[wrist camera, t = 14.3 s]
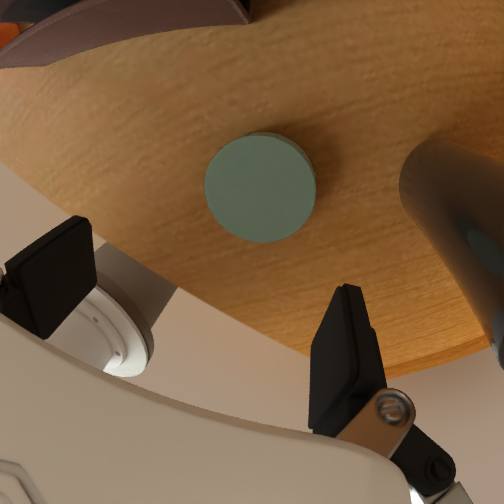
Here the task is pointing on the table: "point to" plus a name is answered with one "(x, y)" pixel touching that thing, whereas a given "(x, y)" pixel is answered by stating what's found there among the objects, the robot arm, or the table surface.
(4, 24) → the paper cup
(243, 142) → the thermos lid
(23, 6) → the letter holder
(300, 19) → the table surface
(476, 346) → the table surface
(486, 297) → the thermos
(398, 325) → the table surface
